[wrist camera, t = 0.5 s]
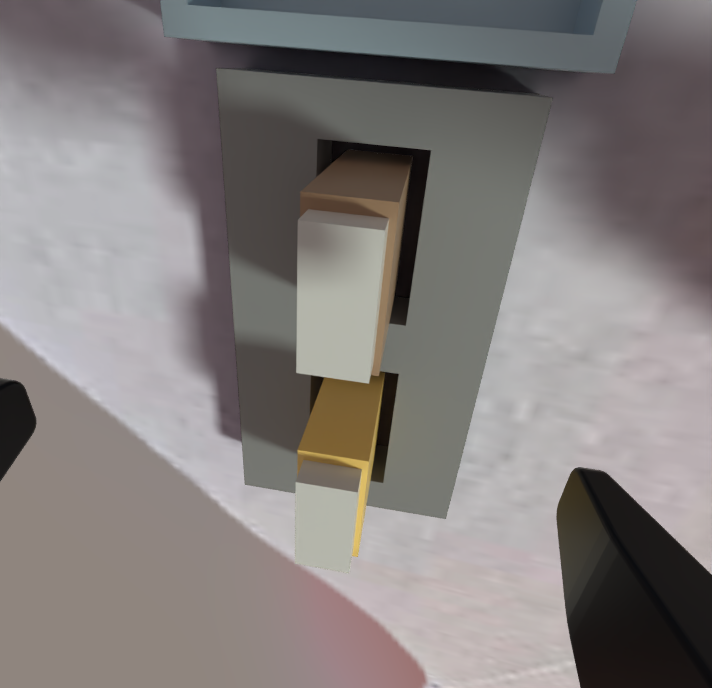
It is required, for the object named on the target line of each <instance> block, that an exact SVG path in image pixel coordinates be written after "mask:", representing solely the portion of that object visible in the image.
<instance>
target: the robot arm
mask: <svg viewBox="0 0 712 688" xmlns="http://www.w3.org/2000/svg"><path fill="white" fill-rule="evenodd" d="M35 428H36V416H35V414H34V411H33V408H32V405H31V403H30V400H29V397H28V395H27V392H26V389H25V387H24V386H23V385H22V384H21V383H20V382H18V381H15V380H8V379H2V378H0V481H1V480H2V478H3V477H4V475H5V474H6V472H7V471H8V469H9V468H10V467H11V465H12V464H13V462H14V461H15V459H16V458H17V456H18V455H19V453H20V452H21V451H22V449H23V448H24V446H25V445H26V443H27V442H28V440H29V439H30V437H31V436H32V434H33V433H34V430H35ZM557 529H558V539H559V549H560V559H561V569H562V579H563V589H564V599H565V608H566V616H567V623H568V629H569V634H570V640H571V645H572V649H573V654H574V659H575V663H576V668H577V673H578V678H579V682H580V687H581V688H712V575H711V574H710V573H709V572H708V571H707V570H706V569H705V568H704V567H703V566H702V565H701V564H700V563H699V562H698V561H697V560H696V559H695V558H694V557H693V556H692V555H691V554H690V553H689V552H688V551H687V550H686V549H685V548H684V547H683V546H682V545H681V544H680V543H678V542H677V541H676V540H675V539H674V538H673V537H672V536H671V535H670V534H669V533H668V532H667V531H666V530H665V529H664V528H663V527H662V526H661V525H660V524H659V523H658V522H657V521H656V520H655V519H654V518H653V517H652V516H651V515H650V514H649V513H648V512H646V511H645V510H644V509H643V508H642V507H641V506H640V505H639V504H638V503H637V502H636V501H635V500H634V499H633V498H632V497H631V496H630V495H629V494H628V493H627V492H626V491H625V490H624V489H623V488H622V487H621V486H620V485H619V484H618V483H617V482H616V481H615V480H613V479H612V478H611V477H610V476H609V475H608V474H607V473H605V472H604V471H601V470H595V469H588V468H582V467H578V468H575V469H574V470H573V471H572V472H571V474H570V476H569V479H568V481H567V484H566V486H565V488H564V491H563V493H562V496H561V498H560V501H559V503H558V507H557Z"/></svg>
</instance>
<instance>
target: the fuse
mask: <svg viewBox="0 0 712 688" xmlns="http://www.w3.org/2000/svg"><path fill="white" fill-rule="evenodd" d="M385 374H386V372H382V371H380V373H379V376H374V375H371V376H370V381H369V384H368V383H361V382H354V381H348V380H341V379H334V378H327V377H324V380H323V382H322V385H321V388H320V391H319V393H318V396H317V399H316V401H315V404H314V407H313V410H312V412H311V415H310V418H309V420H308V423H307V426H306V428H305V431H304V434H303V437H302V439H301V442H300V445H299V447H298V456H297V479H296V492H295V564H300V565H305V566H311V567H316V568H322V569H327V570H332V571H338V572H343V573H349V571H350V565H351V560H352V556H355V557H358V552H359V546H360V540H361V534H362V528H363V522H364V516H365V510H366V504H367V498H368V492H369V486H370V480H371V473H372V467H373V461H374V455H375V449H376V443H377V437H378V430H379V422H380V414H381V406H382V398H383V390H384V382H385Z"/></svg>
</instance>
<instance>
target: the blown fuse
mask: <svg viewBox="0 0 712 688" xmlns="http://www.w3.org/2000/svg"><path fill="white" fill-rule="evenodd" d="M412 161H413V156H410V155H400V154H390V153H380V152H370V151H360V150H351V149H348V150H347V151H345V152H344V153H343V154H342V155H341V156H340V157H339V158H338V159H336V160H335V161H334V162H333V163H332V164H331V165H330V166H329V167H327V168H326V169H325V170H324V171H323V172H322V173H321V174H320V175H318V176H317V177H316V178H315V179H314V180H313V181H312V182H311V183H309V184H308V185H307V186H306V187H305V188H304V189H303V190H302V191H300V218H299V219H298V244H297V356H296V373H300V374H307V375H314V376H321V377H327V378H334V379H341V380H348V381H354V382H361V383H368V384H369V381H370V376H371V375H374V376H379V373H380V368H381V363H382V358H383V352H384V347H385V342H386V337H387V332H388V327H389V322H390V317H391V311H392V306H393V301H394V296H395V291H396V286H397V279H398V271H399V264H400V256H401V248H402V240H403V232H404V224H405V216H406V208H407V200H408V192H409V184H410V176H411V169H412Z"/></svg>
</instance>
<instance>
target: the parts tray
mask: <svg viewBox="0 0 712 688" xmlns="http://www.w3.org/2000/svg"><path fill="white" fill-rule="evenodd" d="M636 2H637V0H160V4H161V13H162V21H163V30H164V37H172V38H181V39H189V40H198V41H206V42H218V43H230V44H242V45H254V46H266V47H279V48H291V49H303V50H315V51H327V52H339V53H351V54H363V55H375V56H388V57H400V58H412V59H424V60H436V61H448V62H460V63H472V64H484V65H496V66H509V67H521V68H533V69H545V70H557V71H569V72H581V73H609V74H615V70H616V67H617V64H618V61H619V57H620V54H621V51H622V48H623V44H624V41H625V38H626V35H627V31H628V28H629V25H630V22H631V18H632V15H633V12H634V9H635V5H636Z"/></svg>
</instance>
